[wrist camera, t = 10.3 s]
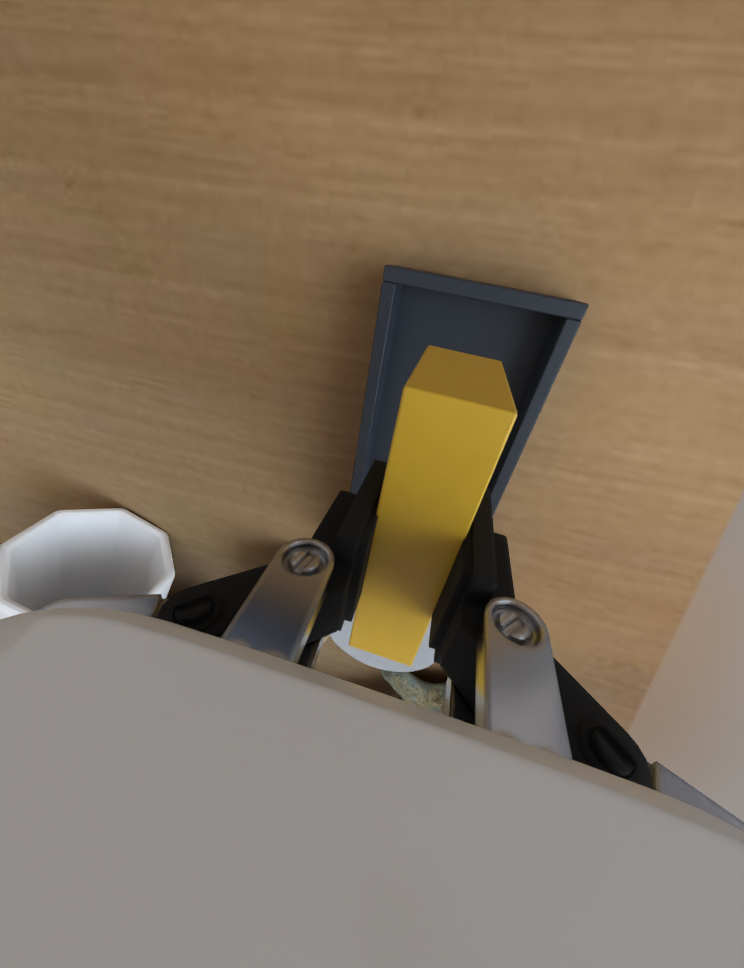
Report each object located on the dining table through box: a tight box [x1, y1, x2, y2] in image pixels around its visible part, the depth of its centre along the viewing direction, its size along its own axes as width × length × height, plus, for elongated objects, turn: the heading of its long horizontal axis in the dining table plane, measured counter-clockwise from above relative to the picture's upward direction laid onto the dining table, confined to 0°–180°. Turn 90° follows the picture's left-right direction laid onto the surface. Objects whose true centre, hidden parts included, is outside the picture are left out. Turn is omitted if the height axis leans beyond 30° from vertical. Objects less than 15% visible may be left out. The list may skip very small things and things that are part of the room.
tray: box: [350, 265, 588, 516], centre depth 20 cm, size 18×8×2 cm, turn 171°
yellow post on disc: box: [330, 345, 517, 672], centre depth 12 cm, size 14×5×4 cm, turn 170°
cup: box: [0, 508, 175, 620], centre depth 31 cm, size 11×11×18 cm
